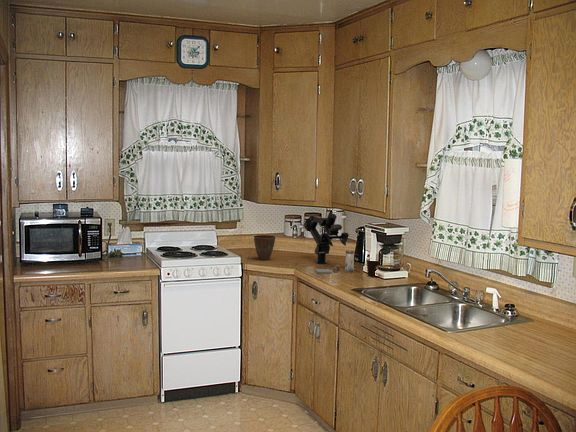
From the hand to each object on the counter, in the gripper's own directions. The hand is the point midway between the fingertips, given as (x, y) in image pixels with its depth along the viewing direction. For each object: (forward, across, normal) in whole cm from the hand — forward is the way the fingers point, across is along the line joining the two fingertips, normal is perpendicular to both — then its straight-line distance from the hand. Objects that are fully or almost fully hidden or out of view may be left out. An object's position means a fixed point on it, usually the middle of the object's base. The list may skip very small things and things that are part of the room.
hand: (339, 245), depth 380 cm
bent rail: (+12, -4, +11) cm, 17 cm away
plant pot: (-33, -34, +37) cm, 60 cm away
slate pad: (+12, -13, +11) cm, 21 cm away
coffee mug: (+29, +13, +2) cm, 32 cm away
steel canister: (+14, +4, +10) cm, 18 cm away
